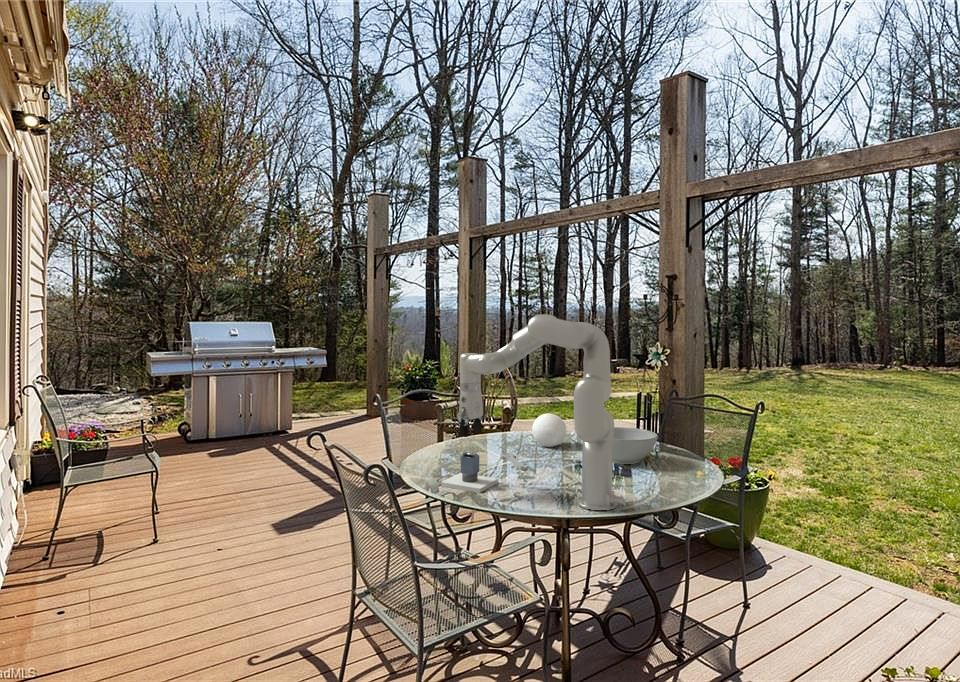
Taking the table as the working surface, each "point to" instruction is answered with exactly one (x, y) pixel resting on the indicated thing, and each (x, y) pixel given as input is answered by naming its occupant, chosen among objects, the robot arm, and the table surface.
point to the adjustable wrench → (513, 460)
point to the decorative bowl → (632, 444)
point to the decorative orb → (549, 430)
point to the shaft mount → (469, 482)
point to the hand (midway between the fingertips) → (470, 434)
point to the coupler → (469, 463)
